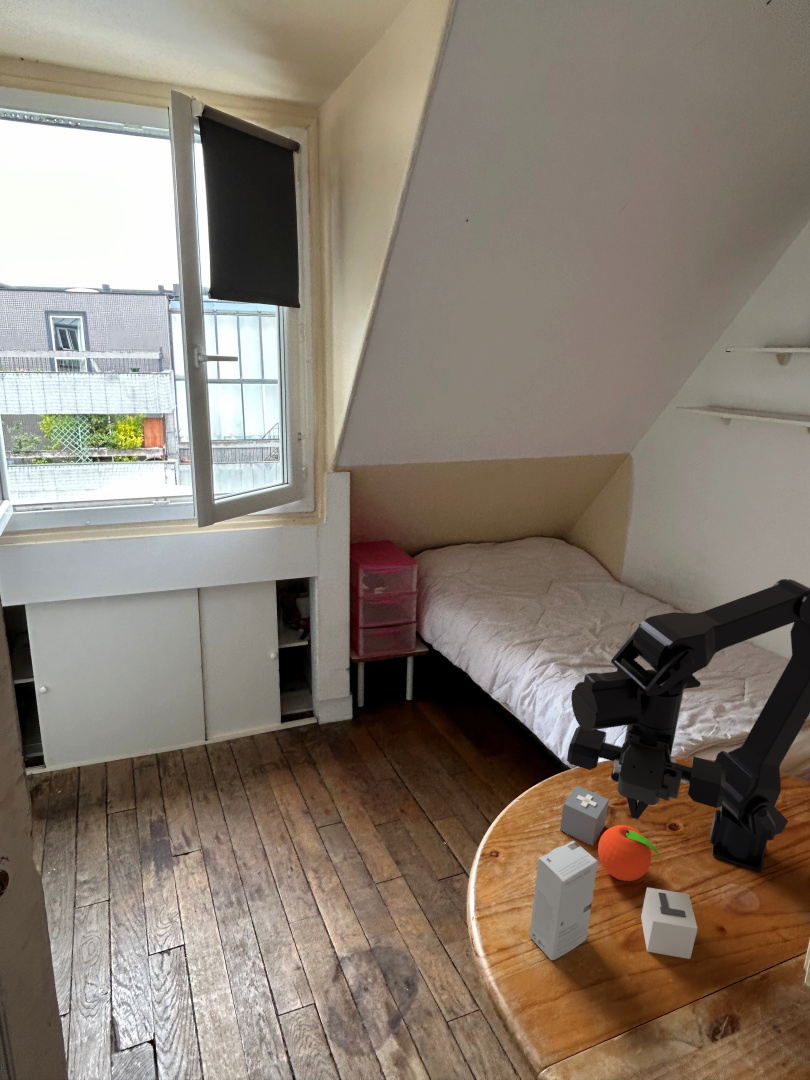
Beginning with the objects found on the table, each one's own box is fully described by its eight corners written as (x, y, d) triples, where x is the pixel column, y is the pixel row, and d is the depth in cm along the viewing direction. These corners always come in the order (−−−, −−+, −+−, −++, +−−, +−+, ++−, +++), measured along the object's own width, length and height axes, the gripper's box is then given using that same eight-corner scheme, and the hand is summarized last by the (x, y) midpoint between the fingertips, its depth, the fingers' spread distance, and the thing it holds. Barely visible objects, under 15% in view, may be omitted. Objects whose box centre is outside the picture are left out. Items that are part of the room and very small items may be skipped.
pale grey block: (681, 924, 87) (688, 892, 85) (690, 959, 82) (697, 927, 80) (640, 917, 88) (647, 886, 86) (646, 952, 83) (653, 919, 81)
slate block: (604, 826, 103) (609, 798, 101) (592, 846, 99) (596, 817, 97) (572, 811, 105) (576, 784, 103) (559, 831, 101) (563, 802, 100)
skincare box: (552, 963, 81) (564, 884, 77) (526, 935, 84) (536, 858, 80) (588, 939, 84) (601, 862, 80) (562, 912, 88) (573, 837, 84)
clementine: (659, 867, 95) (667, 827, 93) (650, 904, 89) (659, 861, 87) (601, 846, 99) (607, 806, 96) (589, 880, 93) (596, 838, 90)
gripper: (564, 729, 82) (550, 832, 87) (734, 777, 75) (708, 886, 80) (583, 685, 92) (569, 781, 97) (735, 724, 84) (711, 825, 90)
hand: (635, 816), depth 91 cm, fingers closed
